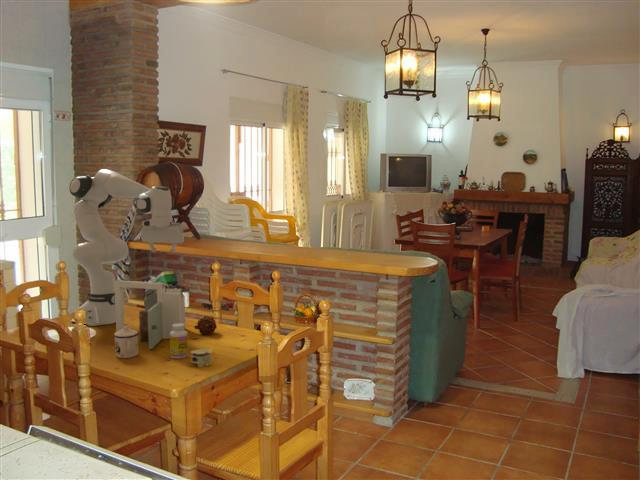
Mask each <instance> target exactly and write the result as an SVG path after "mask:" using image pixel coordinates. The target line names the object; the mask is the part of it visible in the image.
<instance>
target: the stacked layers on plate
mask: <svg viewBox="0 0 640 480" xmlns="http://www.w3.org/2000/svg"><path fill="white" fill-rule="evenodd" d="M210 352H212V350H211V349H209V348H201V349H200V348H199V349H194V350H191V351H190V357H191V360H190V362H191V363H193V364H194V363H195V364H197V365H196V366H197V367H198V366H199V367H198V368H203V367H202V366H204V365H205V366H208V365H207V364H209V365H211V364H212V360H213V359H212V357H211V356H212V353H210ZM210 363H211V364H210ZM205 366H204V367H205Z"/></svg>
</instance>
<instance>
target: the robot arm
mask: <svg viewBox="0 0 640 480" xmlns="http://www.w3.org/2000/svg"><path fill="white" fill-rule="evenodd" d="M69 193H70V194H71V196H73V197H75V198H77V199H80V200H79V201H77V202H76V203H75V204H74V206H73V213H74V218H75V221H76V225H77V227H78V229H79V232H80V234H81V236H82V238H83V239H84V240H86V241H85V242H81V243H77V244H76V245H75V246H74V248H73V251H72V252H73V253H72V257H73V259H74V261H75V262H76V264H78V265H79V266H81V267H82V268H83V269H84V270H85V272H87V275H88V278H89V284H90V292H89V293H87V294H86V295H85V298H88V299H87V300H86V301H85V302H84V303H83V304H82V305H81V306H79V307H78V308H77V310H79V309H83V310H86V320H85V322H86V324H88V325H87V326H91V327H94V326H95V327H96V326H102V325H110V324H114V323H115V324H116V310H115V287H114V281H116V277H115V275H114V274H113V273H112V272H111V271H109V270H106V269H104V266H103V264H112V263H117V262H120V261H124V260H126V259H127V257H128V256H129V246H128V244H127V242H126V241H124V240H122V239H120V238H118V237H117V236H115V235H113V234H112V233H111V232H110V231H109V230H108V229H107V228H106V226H105V225H104V223H103V220H102V218H101V215H100V213H99V210H98V208H103V207H104V206H105V205H107V204H109V202H111V201H112V199H113V198H117V199H118V198H119V199H136V200H135V206H136V207H135V208H136V210H137V211H138V212H139V213H140V214H143V215H151V218H149V219H146V220H143V221H141V226H142V227H141V229H140V230H141V231H140V238H141V241H142V242H143V243H148V245H149V247H150V248H151V250H150V252H151V253H156V252H157V247H155V245H154V244H155V243H159V244H162V243H163V244H171V246H172V247H171V248H170V249H169V253H170V254H175V251H176V249H177V245H178V244H182V243H184V242H185V235H184V225H183V224H181V223H180V222H173V214H172V210H173V209H174V207H175V198H174V196H173V195H172V194H171V190H170V188H169V187H167V186H165V185H164V186H163V185H154V186H152V187H149V186H148V185H144V184H143V183H140V182H137V181H135V180H133V179H130V178H128V177H127V176H124V175H123V174H121V173H119V172H117V171H114V170H111V169H107V168H103V169H100V170H98V171H97V172H96V174H95V175H94V176H93V177H91V176H90V175H81V176H75V177H74V178H73V179H72V180H71V181H70V184H69ZM71 321H73V322H75V320H74V318H72V319H71V320H70V322H71ZM74 324H77V323H76V322H75V323H74Z"/></svg>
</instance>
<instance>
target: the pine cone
mask: <svg viewBox="0 0 640 480" xmlns="http://www.w3.org/2000/svg"><path fill="white" fill-rule="evenodd" d="M217 327H218V326H217V323H216V320H215V319H214V318H213V317H211V316H208V315H204V317H202V318H199V319H198V321H197V322H196V324H195V325H194V329H195V330H198V332H199V333H200V334H201V335H203V334H204V335H207V336H208V335H209V336H210V335H211V334H212V333H214V332H215V331H216V329H217Z"/></svg>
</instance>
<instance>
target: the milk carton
mask: <svg viewBox="0 0 640 480" xmlns="http://www.w3.org/2000/svg"><path fill="white" fill-rule="evenodd" d="M166 293H181V319H182V324H184V325H185V326H186V301H185V298H186V297H185V295H184V293H183V292H182V289H181V288H166Z"/></svg>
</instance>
